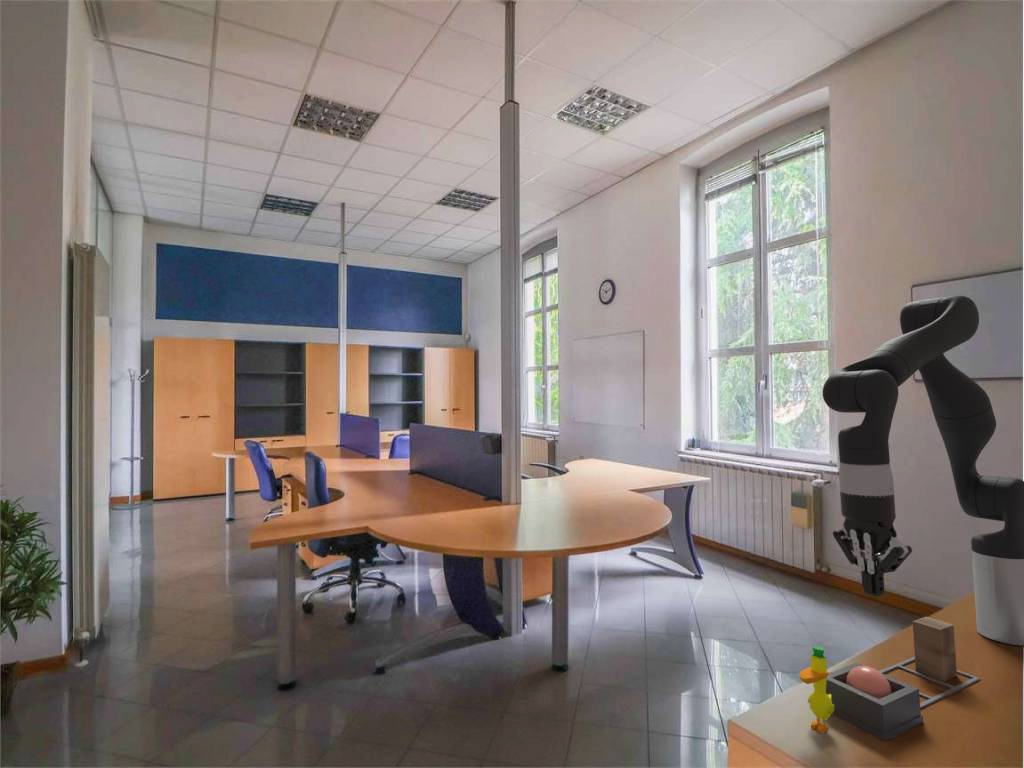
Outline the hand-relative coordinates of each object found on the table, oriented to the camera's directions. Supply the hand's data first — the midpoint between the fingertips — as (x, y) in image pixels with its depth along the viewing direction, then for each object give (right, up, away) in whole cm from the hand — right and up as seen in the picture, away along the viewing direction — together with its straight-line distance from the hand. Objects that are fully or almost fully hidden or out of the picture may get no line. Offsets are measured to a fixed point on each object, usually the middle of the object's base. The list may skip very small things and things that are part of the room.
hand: (873, 594), depth 87 cm
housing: (-3, -18, -3) cm, 18 cm away
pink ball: (-3, -17, -3) cm, 17 cm away
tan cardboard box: (+18, -18, +9) cm, 27 cm away
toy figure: (-13, -18, -6) cm, 23 cm away
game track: (+11, -18, +6) cm, 22 cm away
